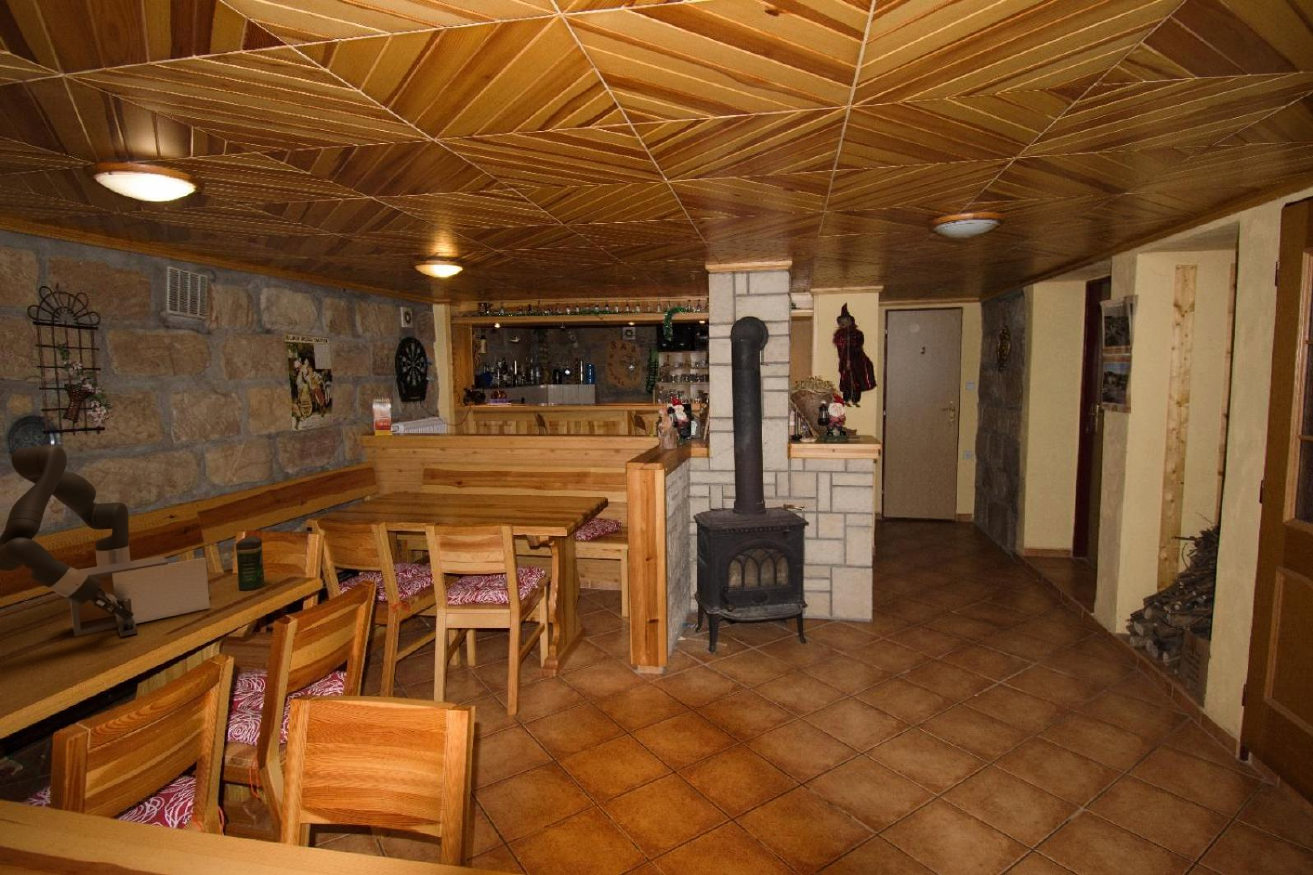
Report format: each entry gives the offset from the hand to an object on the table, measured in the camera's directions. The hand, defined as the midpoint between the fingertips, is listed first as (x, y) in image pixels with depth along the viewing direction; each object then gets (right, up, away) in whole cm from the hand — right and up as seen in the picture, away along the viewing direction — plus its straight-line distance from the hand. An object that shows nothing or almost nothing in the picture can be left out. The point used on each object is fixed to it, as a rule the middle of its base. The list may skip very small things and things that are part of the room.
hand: (129, 613), depth 199 cm
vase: (-1, -4, +31) cm, 31 cm away
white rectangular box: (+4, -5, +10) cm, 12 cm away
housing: (-11, -6, +11) cm, 17 cm away
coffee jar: (+10, -2, +45) cm, 46 cm away
